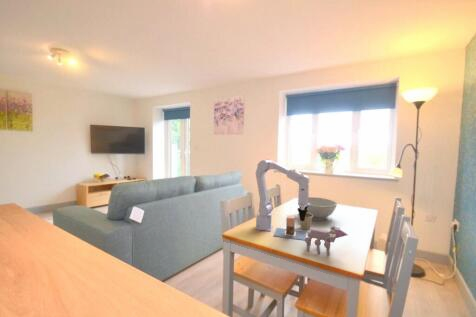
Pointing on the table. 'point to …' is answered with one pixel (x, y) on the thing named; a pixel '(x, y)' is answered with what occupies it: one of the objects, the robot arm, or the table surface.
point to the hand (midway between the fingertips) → (302, 218)
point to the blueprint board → (297, 235)
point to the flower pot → (306, 221)
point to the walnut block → (290, 230)
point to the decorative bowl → (320, 207)
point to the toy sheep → (324, 237)
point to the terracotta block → (290, 221)
